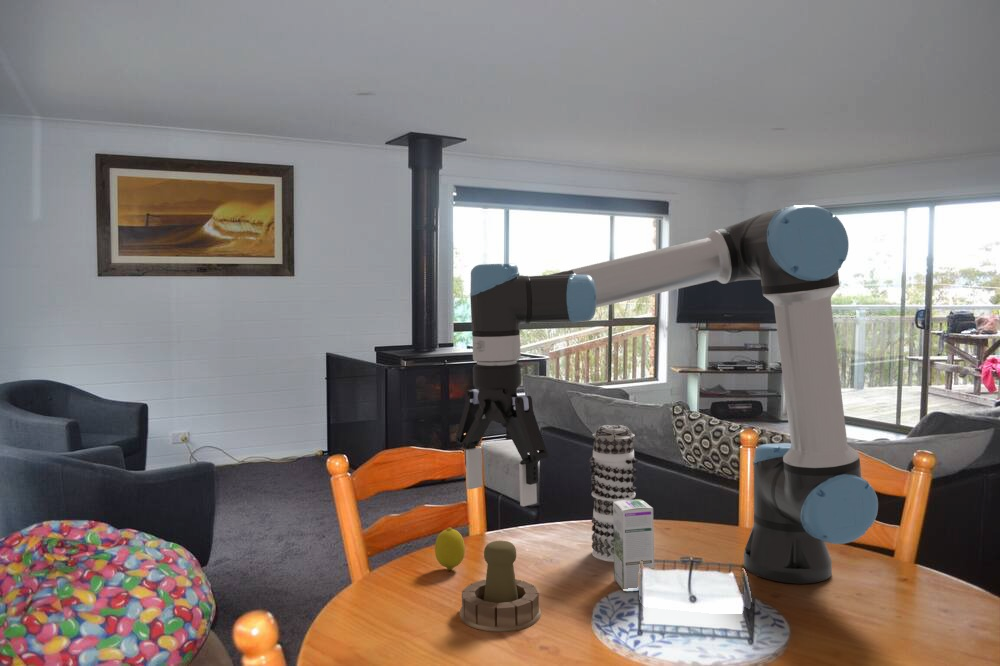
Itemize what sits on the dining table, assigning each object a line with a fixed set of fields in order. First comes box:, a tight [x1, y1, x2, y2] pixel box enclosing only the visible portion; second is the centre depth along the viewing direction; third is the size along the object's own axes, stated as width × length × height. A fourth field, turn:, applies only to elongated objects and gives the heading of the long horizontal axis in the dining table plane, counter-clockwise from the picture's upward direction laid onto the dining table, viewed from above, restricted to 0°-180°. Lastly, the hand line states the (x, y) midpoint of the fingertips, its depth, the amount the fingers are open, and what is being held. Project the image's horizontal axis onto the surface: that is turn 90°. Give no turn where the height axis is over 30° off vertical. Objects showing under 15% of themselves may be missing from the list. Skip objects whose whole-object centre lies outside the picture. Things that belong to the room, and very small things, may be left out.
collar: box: [459, 578, 542, 633], centre depth 124 cm, size 13×13×4 cm
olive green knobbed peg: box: [483, 540, 518, 603], centre depth 124 cm, size 6×6×11 cm
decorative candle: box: [589, 424, 639, 563], centre depth 150 cm, size 9×9×25 cm
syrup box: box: [613, 498, 655, 590], centre depth 135 cm, size 6×6×14 cm
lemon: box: [434, 527, 466, 571], centre depth 144 cm, size 6×6×8 cm
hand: (500, 495), depth 123 cm, fingers open, 13 cm apart
